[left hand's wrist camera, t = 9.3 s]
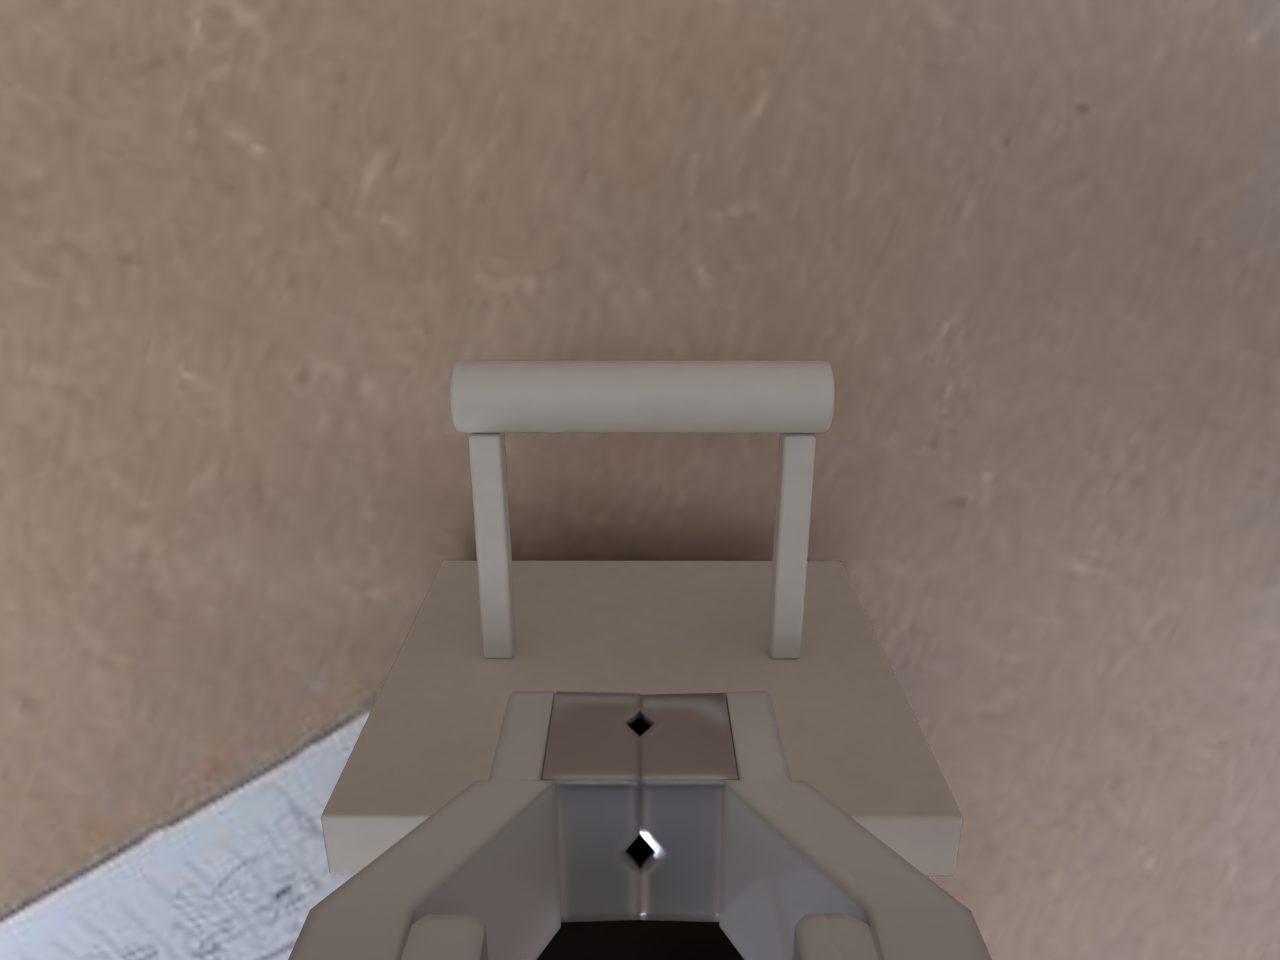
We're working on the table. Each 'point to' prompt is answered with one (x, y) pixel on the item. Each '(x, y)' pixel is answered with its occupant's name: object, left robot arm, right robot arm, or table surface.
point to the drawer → (642, 632)
